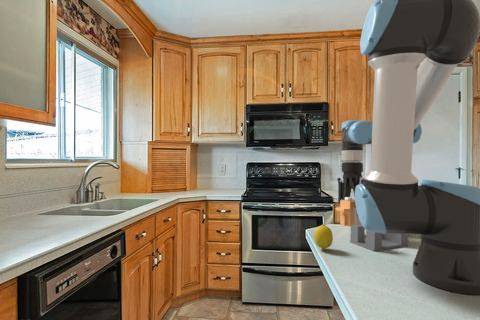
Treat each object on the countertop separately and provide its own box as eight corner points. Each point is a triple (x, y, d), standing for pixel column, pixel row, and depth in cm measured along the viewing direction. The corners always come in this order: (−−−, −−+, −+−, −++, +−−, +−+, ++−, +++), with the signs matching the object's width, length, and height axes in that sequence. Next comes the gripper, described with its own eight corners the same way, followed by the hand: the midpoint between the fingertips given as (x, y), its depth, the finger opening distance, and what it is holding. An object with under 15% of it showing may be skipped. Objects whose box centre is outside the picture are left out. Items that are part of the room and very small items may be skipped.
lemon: (310, 248, 88) (310, 223, 88) (325, 246, 90) (325, 222, 90) (321, 253, 83) (321, 227, 83) (336, 251, 85) (336, 225, 85)
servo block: (369, 224, 103) (369, 197, 104) (344, 227, 99) (344, 198, 99) (359, 222, 108) (359, 196, 108) (335, 224, 104) (334, 197, 104)
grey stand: (408, 245, 91) (408, 227, 91) (374, 251, 85) (374, 231, 85) (382, 237, 100) (382, 221, 100) (350, 242, 95) (350, 224, 95)
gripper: (379, 161, 97) (379, 228, 96) (342, 162, 114) (343, 218, 113) (363, 161, 94) (363, 229, 94) (328, 162, 111) (328, 220, 110)
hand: (352, 223), depth 103 cm, fingers closed on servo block, 5 cm apart
